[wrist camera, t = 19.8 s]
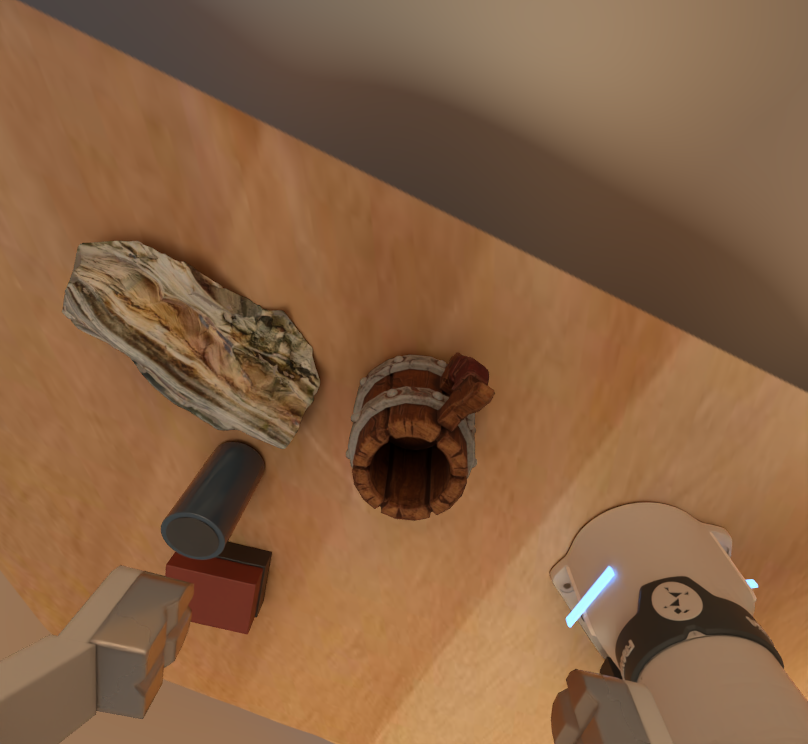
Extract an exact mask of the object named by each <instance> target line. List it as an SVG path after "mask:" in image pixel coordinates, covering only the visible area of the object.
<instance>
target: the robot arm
mask: <svg viewBox="0 0 808 744" xmlns="http://www.w3.org/2000/svg"><path fill="white" fill-rule="evenodd" d="M731 551H732V538H731V536H730V535H729V533H728V532H727V530H726V529H724V528H722V527H719V526H715V525H711V524H706V523H702V522H700V521H698V520H696V519H695V518H693V517H692V516H690V515H689V514H688V513H686V512H684V511H683V510H681V509H678V508H676V507H673V506H670V505H666V504H661V503H652V502H642V503H632V504H627V505H623V506H619V507H616V508H613V509H611V510H608V511H606V512H604V513H602V514H601V515H599V516H597V517H596V518H594V519H593V520H591V521H590V522H589V523H588V524H587V525H585V526H584V527H583V528H582V530H581V531H580V532H579V533H578V535H577V536H576V537H575V539H574V541H573V543H572V545H571V547H570V549H569V551H568V553H567V555H566V556H565V557H564V558H563V559H562V560H561V561H559V562H558V563H557V564H556V565H555V566H554V567H553V568H552V570H551V571H550V578H551V580H552V582H553V584H554V586H555V587H556V589H557V590H558V592H559V593H560V595H561V596H562V598H563V599H564V601H565V602H566V604H567V605H568V607H569V608H570V610H571V611H572V612H571V613H570V614H569V615H568V616H567V618H566V621H567V624H568V627H572V625H573V624H574V623H575V622H576V621H577V620H578V622H579V623H580V625H581V626H582V628H583V629H584V631H585V632H586V634H587V635H588V637H589V638H590V640H591V641H592V643H593V644H594V646H595V647H596V649H597V650H598V652H599V653H600V655H601V656H602V657H603V658H604V659H605V661H604V663H603V665H602V667H601V669H600V674H597V673H592V672H588V671H583V670H578V669H575V670H573V671H571V672H570V673H569V675H568V677H567V679H566V682H567V685H568V688H567V689H565V690H563V691H561V692H559V693H558V694H557V696H556V699H555V701H554V703H553V706H552V714H551V726H552V734H553V739H554V743H555V744H808V701H807V700H806V698H805V697H804V696H803V694H802V693H801V692H800V690H799V689H798V688H797V686H796V685H795V684H794V682H793V681H792V680H791V678H790V677H789V676H788V674H787V673H786V672H785V670H784V664H783V661H782V658H781V656H780V655H779V653H778V651H777V650H776V649H775V647H774V644H773V642H772V640H771V639H770V637H769V636H768V635H767V633H766V632H765V631H764V629H763V628H762V627H761V626H760V625H759V624H758V623H757V622H756V620H755V619H754V618H753V615H754V611H755V604H754V602H756V600H757V599H756V596H755V594H754V592H753V590H752V589H751V588H758V585H757V583H756V582H755V581H754V580H753V579H750V580H745V579H744V577H743V576H742V575H741V573H740V572H739V570H738V569H737V567H736V566H735V565H734V563H733V562H732V560H731ZM566 583H567V584H566ZM193 596H194V584H193V583H190V582H186V581H182V580H178V579H174V578H170V577H166V576H162V575H158V574H155V573H151V572H147V571H143V570H138V569H134V568H130V567H126V566H122V565H120V566H119V567H117V568H116V569H114V570H113V571H112V572H111V573H110V574H109V575H108V576H107V578H106V579H105V580H104V581H103V582H102V584H101V585H100V586H99V587H98V588H97V590H96V591H95V592H94V593H93V594H92V596H91V597H90V598H89V599H88V600H87V602H86V603H85V604H84V605H83V606H82V608H81V609H80V610H79V611H78V612H77V614H76V615H75V616H74V617H73V618H72V620H71V621H70V622H69V623H68V624H67V626H66V627H65V628H64V629H63V630H62V632H61V633H60V634H59V635H58V636H55V635H48V636H46V637H44V638H42V639H40V640H39V641H37V642H35V643H33V644H31V645H29V646H27V647H25V648H23V649H22V650H20V651H18V652H16V653H14V654H12V655H10V656H8V657H6V658H5V659H3V660H1V661H0V744H59V743H60V742H62V741H63V740H64V739H65V738H66V737H68V736H69V735H70V734H72V733H73V732H74V731H75V730H77V729H78V728H79V727H80V726H82V725H83V724H84V723H85V722H87V721H88V720H89V719H91V718H92V717H93V716H94V715H96V711H100V712H106V713H112V714H117V715H122V716H128V717H133V718H139V719H143V718H144V716H145V714H146V712H147V710H148V709H149V707H150V705H151V703H152V702H153V700H154V698H155V696H156V694H157V693H158V691H159V689H160V687H161V685H162V682H163V671H164V668H165V667H166V666H168V665H169V664H171V663H172V662H174V661H175V659H176V657H177V655H178V654H179V652H180V650H181V648H182V646H183V643H184V641H185V638H186V636H187V633H188V630H189V626H190V622H191V617H192V610H191V609H190V607H189V606H188V605H189V603H190V601H191V599H192V598H193Z"/></svg>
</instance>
